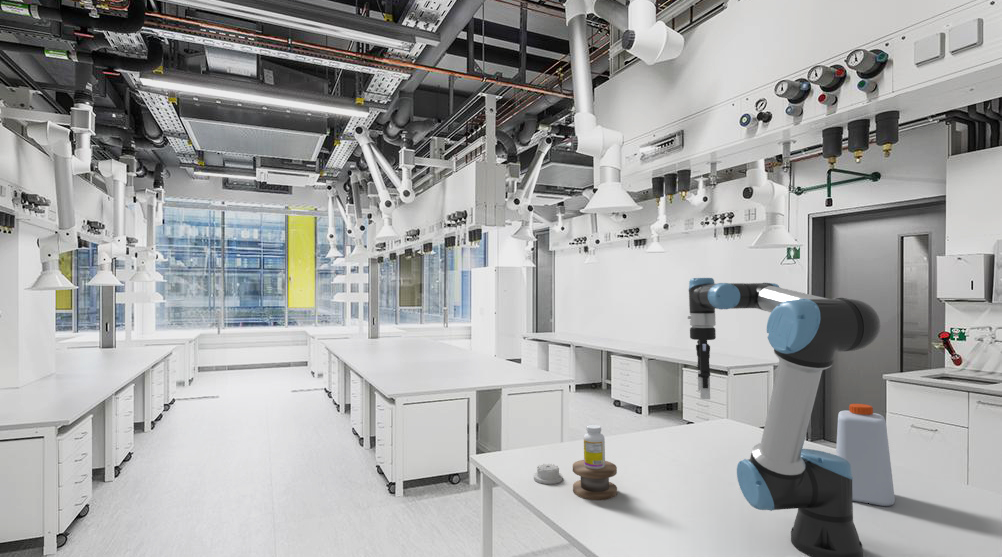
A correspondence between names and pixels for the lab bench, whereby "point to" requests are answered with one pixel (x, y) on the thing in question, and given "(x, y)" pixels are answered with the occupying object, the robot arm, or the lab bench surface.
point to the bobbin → (595, 481)
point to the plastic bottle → (866, 454)
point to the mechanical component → (548, 474)
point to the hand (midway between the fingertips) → (703, 394)
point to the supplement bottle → (594, 448)
